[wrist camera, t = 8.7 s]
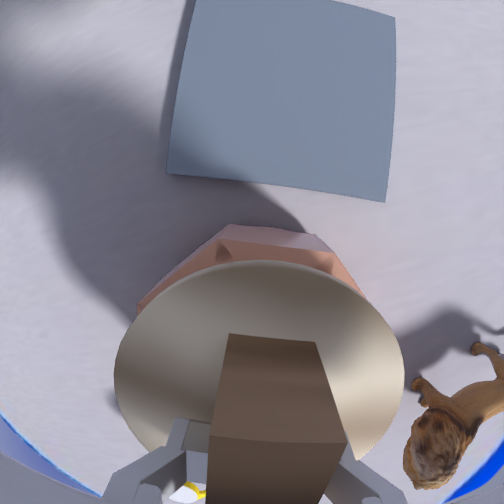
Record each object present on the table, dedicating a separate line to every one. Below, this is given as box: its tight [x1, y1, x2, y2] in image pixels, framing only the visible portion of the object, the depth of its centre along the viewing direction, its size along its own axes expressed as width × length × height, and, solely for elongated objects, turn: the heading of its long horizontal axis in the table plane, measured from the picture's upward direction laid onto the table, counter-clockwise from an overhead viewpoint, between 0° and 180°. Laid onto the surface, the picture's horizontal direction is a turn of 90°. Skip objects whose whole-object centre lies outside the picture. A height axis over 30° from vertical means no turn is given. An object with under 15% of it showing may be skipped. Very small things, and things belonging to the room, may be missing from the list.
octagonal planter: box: [137, 224, 366, 316], centre depth 17 cm, size 12×12×6 cm
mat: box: [166, 0, 396, 203], centre depth 17 cm, size 13×13×1 cm
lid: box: [114, 260, 405, 504], centre depth 9 cm, size 12×12×6 cm
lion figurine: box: [403, 342, 504, 490], centre depth 17 cm, size 15×5×9 cm, turn 121°
